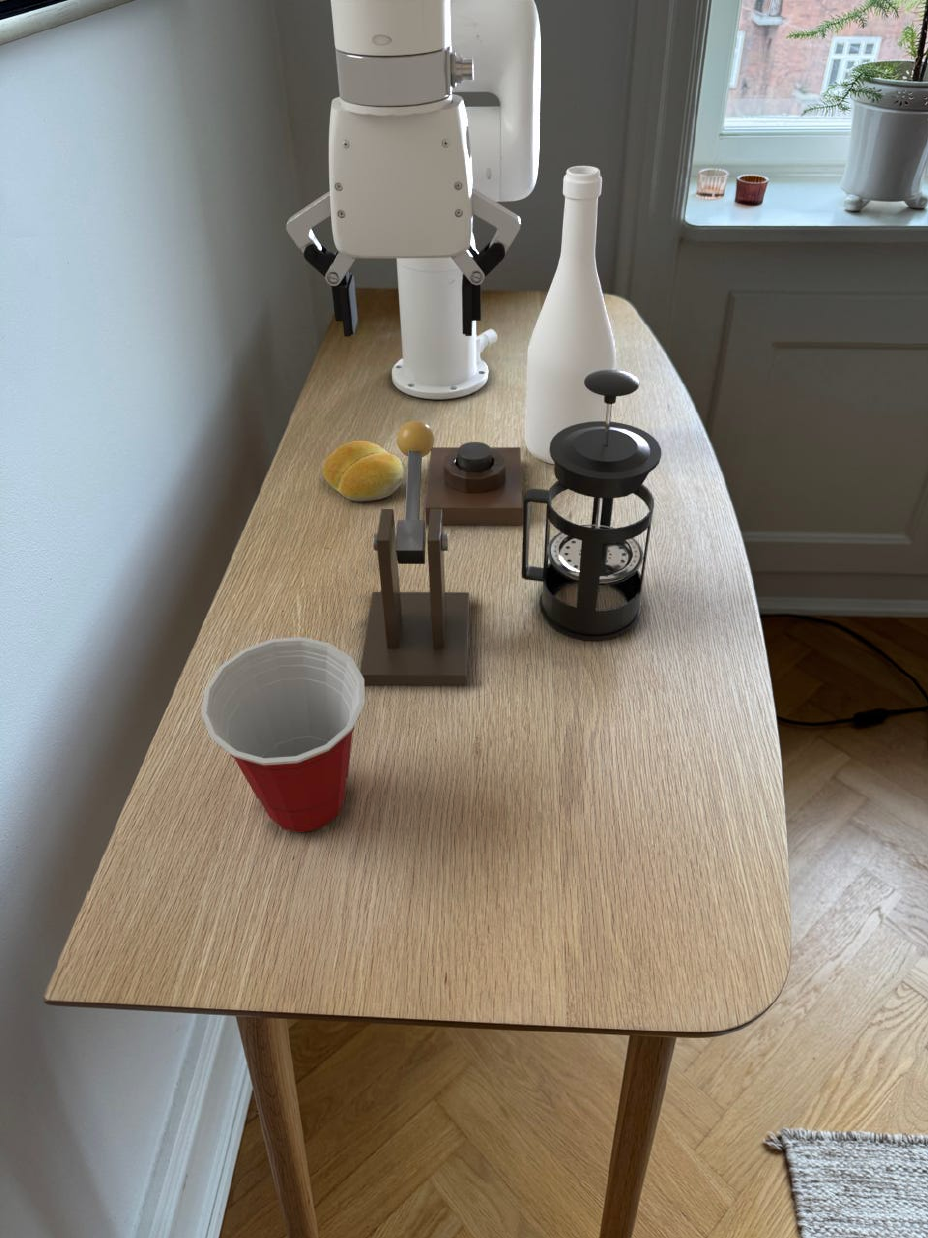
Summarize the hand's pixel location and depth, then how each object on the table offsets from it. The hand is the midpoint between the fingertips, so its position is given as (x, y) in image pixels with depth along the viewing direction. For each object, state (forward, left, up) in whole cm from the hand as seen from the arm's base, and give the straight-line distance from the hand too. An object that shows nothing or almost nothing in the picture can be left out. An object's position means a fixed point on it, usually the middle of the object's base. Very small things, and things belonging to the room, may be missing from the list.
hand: (409, 328), depth 72 cm
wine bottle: (-28, -4, -25) cm, 38 cm away
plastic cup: (+26, +11, -25) cm, 38 cm away
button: (-14, -6, -22) cm, 27 cm away
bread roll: (-8, -17, -25) cm, 31 cm away
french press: (-6, +14, -25) cm, 30 cm away
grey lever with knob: (+3, +2, -13) cm, 14 cm away
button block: (-14, -6, -25) cm, 30 cm away
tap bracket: (+7, +6, -25) cm, 27 cm away
